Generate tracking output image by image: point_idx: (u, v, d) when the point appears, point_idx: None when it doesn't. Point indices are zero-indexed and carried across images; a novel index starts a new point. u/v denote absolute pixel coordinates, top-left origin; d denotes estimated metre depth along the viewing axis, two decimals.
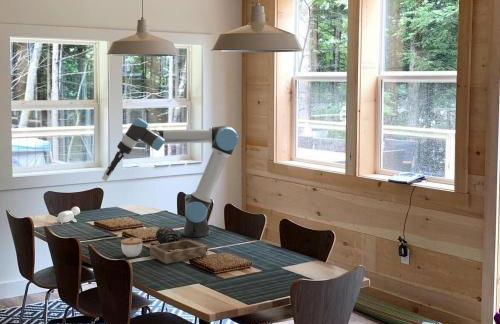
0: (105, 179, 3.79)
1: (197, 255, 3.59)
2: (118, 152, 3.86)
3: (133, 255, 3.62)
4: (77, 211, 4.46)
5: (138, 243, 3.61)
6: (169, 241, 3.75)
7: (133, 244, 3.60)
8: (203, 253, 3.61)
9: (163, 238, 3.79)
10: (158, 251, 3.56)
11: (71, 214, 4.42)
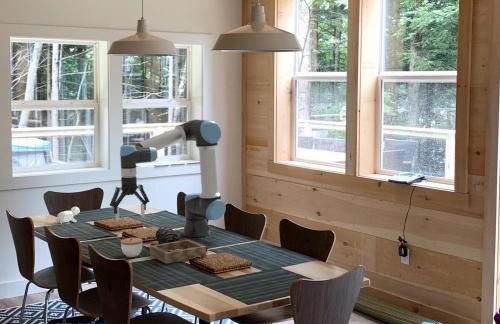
0: None
1: (197, 255, 3.59)
2: (128, 188, 3.60)
3: (133, 255, 3.62)
4: (77, 211, 4.46)
5: (138, 243, 3.61)
6: (169, 241, 3.75)
7: (133, 244, 3.60)
8: (203, 253, 3.61)
9: (163, 238, 3.78)
10: (158, 251, 3.56)
11: (71, 214, 4.42)
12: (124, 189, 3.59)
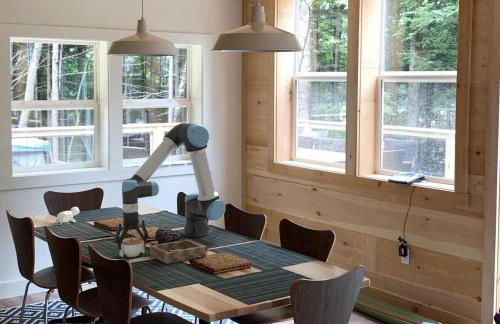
0: None
1: (197, 255, 3.59)
2: (130, 223, 3.62)
3: (133, 255, 3.62)
4: (76, 211, 4.45)
5: (138, 243, 3.61)
6: (169, 241, 3.75)
7: (133, 244, 3.60)
8: (203, 253, 3.61)
9: (163, 238, 3.78)
10: (158, 251, 3.56)
11: (70, 214, 4.42)
12: (126, 224, 3.61)
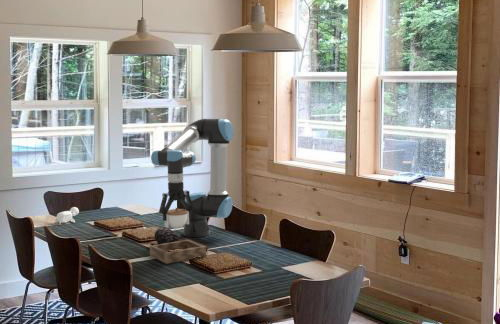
0: None
1: (197, 255, 3.59)
2: (175, 194, 3.57)
3: (178, 226, 3.58)
4: (76, 211, 4.45)
5: (184, 214, 3.57)
6: None
7: (179, 214, 3.55)
8: (203, 253, 3.61)
9: (163, 239, 3.77)
10: (158, 251, 3.56)
11: (70, 214, 4.41)
12: (171, 194, 3.56)
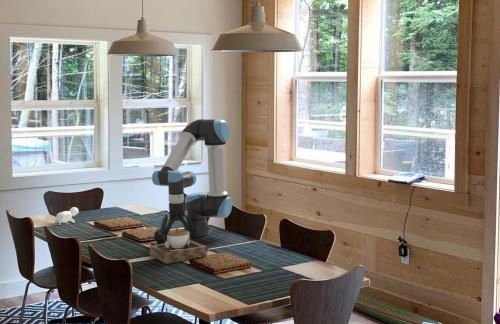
0: None
1: (197, 255, 3.59)
2: (176, 214, 3.59)
3: (179, 246, 3.59)
4: (75, 211, 4.45)
5: (184, 234, 3.58)
6: None
7: (179, 235, 3.57)
8: (203, 253, 3.61)
9: (163, 239, 3.76)
10: (158, 251, 3.56)
11: (69, 214, 4.41)
12: (172, 215, 3.58)
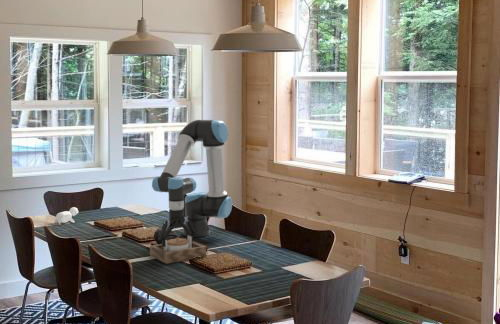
0: None
1: (197, 255, 3.59)
2: (176, 221, 3.59)
3: None
4: (75, 211, 4.44)
5: (184, 244, 3.59)
6: None
7: (180, 245, 3.57)
8: (203, 253, 3.61)
9: None
10: (158, 251, 3.56)
11: (69, 214, 4.41)
12: (172, 222, 3.58)
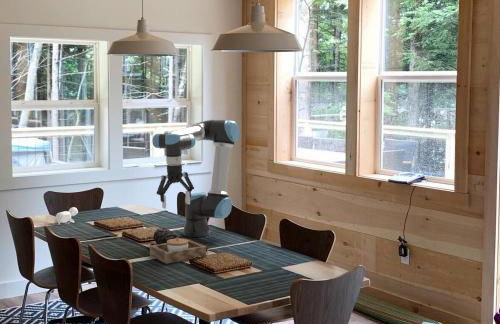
0: None
1: (197, 255, 3.59)
2: (174, 176, 3.62)
3: None
4: (75, 212, 4.44)
5: (184, 244, 3.59)
6: None
7: (180, 245, 3.57)
8: (203, 253, 3.61)
9: (163, 239, 3.76)
10: (158, 251, 3.56)
11: (69, 215, 4.41)
12: (170, 177, 3.61)
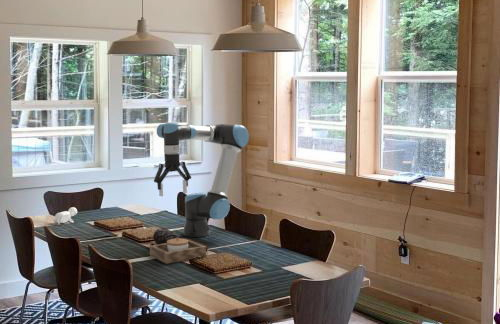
0: None
1: (197, 255, 3.59)
2: None
3: None
4: (74, 212, 4.44)
5: (184, 244, 3.59)
6: None
7: (180, 245, 3.57)
8: (203, 253, 3.61)
9: (163, 240, 3.75)
10: (158, 251, 3.56)
11: (68, 215, 4.41)
12: (167, 165, 3.68)
